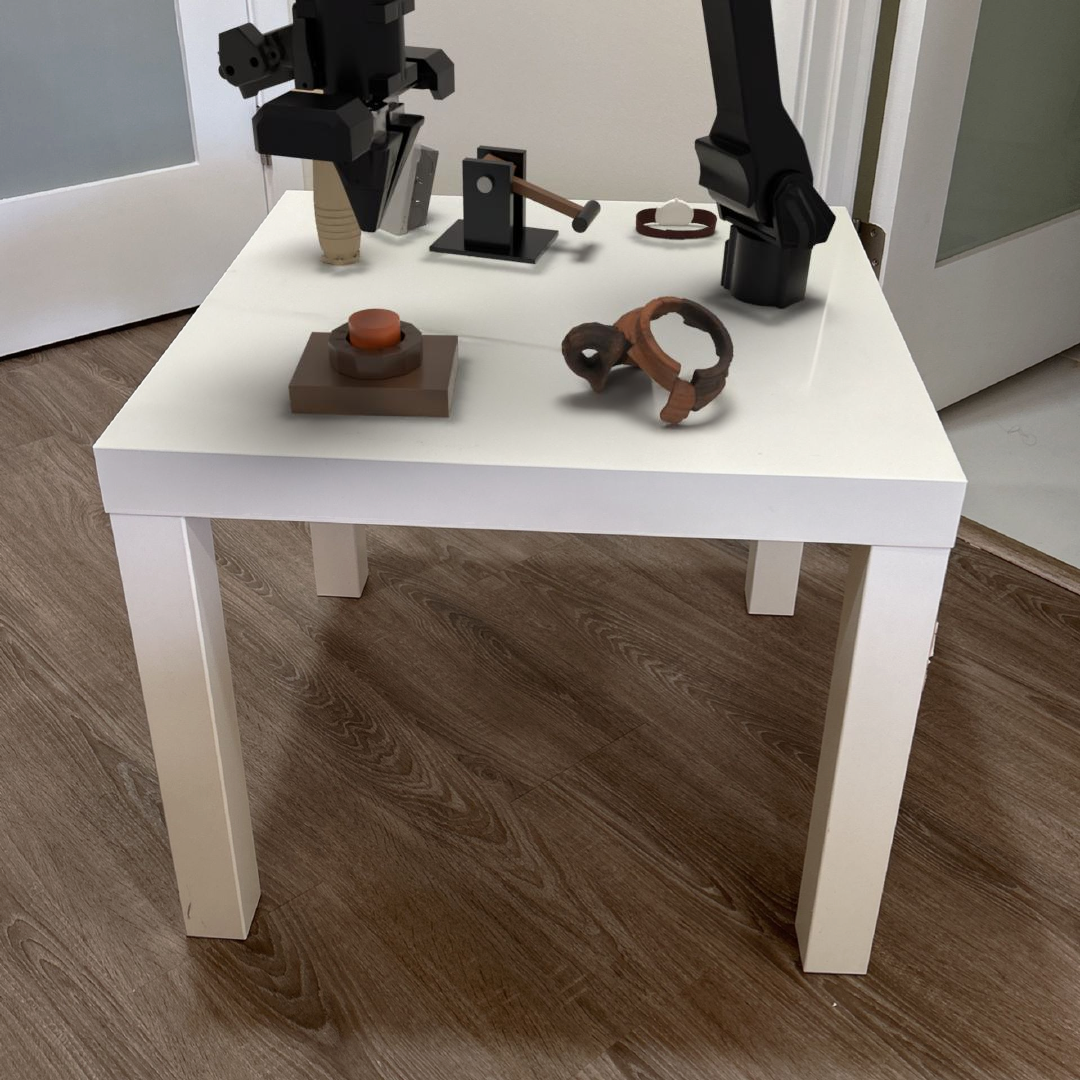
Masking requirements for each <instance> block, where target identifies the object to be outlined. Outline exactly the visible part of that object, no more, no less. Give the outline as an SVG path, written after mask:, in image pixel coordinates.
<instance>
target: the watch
mask: <svg viewBox="0 0 1080 1080" xmlns="http://www.w3.org/2000/svg"><path fill="white" fill-rule="evenodd" d="M717 222H718V217H717V215H716V214H715V213H714V212H712V211H710V210H709V209H708V210H707V209H703V208H696V207H691V206H690V204H688V202H686V201H685V200H682V199H679V197H675V198H673V199H670V200H667V201H665V202H664V203H662V204H661V205H660V206H659V207H658V206H656V207H649V208H643V209H641V210H639V211H638V212H637V213H636V214H635V232H637V233H638V234H640V235H642V236H646V237H650V238H656V239H657V238H658V239H667V240H691V239H692V240H693V239H702V238H707V237H710V236H712V235H714V234H715V231H716V227H717ZM646 224H647V225H646ZM648 224H658V225H660V226H684V227H685V226H688V225H690V224H691V225H693V224H697V225H702V226H706V227H704V228H700V229H699V228H698V229H692V230H691V229H688V230H687V229H686V230H685V229H684V230H682V229H681V230H680V229H677V230H676V229H667V228H665V229H661V228H656V227H653V226H648Z"/></svg>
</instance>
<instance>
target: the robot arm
mask: <svg viewBox="0 0 1080 1080" xmlns="http://www.w3.org/2000/svg"><path fill="white" fill-rule="evenodd" d="M700 3H701V9H702V15H703V23H704V28H705V36H706V43H707V49H708V50H707V51H708V55H709V56H708V57H709V63H710V64H709V65H710V69H711V76H712V77H711V78H712V84H713V91H714V92H713V93H714V99H715V105H716V115H715V118H714V121H713V122H712V126H711V128H710V130H709V133H708V134H707V135H705V136H704V135H703V136H702V137H698V138H696V139H695V140H694V150H695V153H696V156H697V159H698V163H699V178H698V186H700V187H703V188H705V189H707V192H708V195H709V196H710V198H711V199H712V200H713V201H715V204H716V209H717V214H718V218H719V219H720V220H721V221H724V222H728V223H730V226H729V227H730V228H729V235H728V238H727V239H726V240H725V241H724V248H723V256H722V266H721V276H720V286H721V287H723V289H724V290H727V291H729V293H730V295H731V296H732V297H733V298H734V299H735V300H737V301H739V302H742V303H744V304H748V305H751V306H757V307H766V308H767V307H770V308H776V309H780V310H784V309H787V308H789V307H791V306H794V305H796V304H798V303H800V302H803V301H804V300H805V298H806V291H807V285H808V278H809V272H810V266H811V260H812V252H813V249H814V247H815V246H816V245H819V244H825V243H827V242H828V239H829V237H830V235H831V233H832V230H833V228H834V225H835V223H836V220H837V216H836V215H835V213H834V212H833V210H832V208H830V206H829V205H828V204H827V202H826V201H825V200H824V199H823V197H822V196H821V194H819V192H818V191H817V190H816V188H815V187H814V177H815V176H814V171H813V169H812V164H811V161H810V158H809V153H808V149H807V146H806V142H805V140H804V137H803V136H802V134H801V133H800V130H798V128H797V126H796V124H795V123H794V121H793V120H792V118H791V116H790V114H789V113H788V111H787V110H786V108H785V106H784V102H783V98H782V90H781V81H780V72H779V71H780V70H779V63H778V52H777V43H776V34H775V33H776V32H775V25H774V24H775V23H774V17H773V16H774V15H773V7H772V0H700ZM414 11H416V1H415V0H295V2H293V3H292V5H291V15H292V23H289V24H286V25H284V26H281V27H278V28H275V29H272V30H270V31H267V32H264V33H262V32H261V31H260V30H259V29H258V28H257V27H256V26H255V25H254V23H252V22H249V21H248V22H246V23H243V24H241V25H238V26H236V27H233V28H229V29H227V30H224V31H222V32H219V33H218V51H217V55H218V61H219V62H218V63H219V66H218V69H217V70H218V71H217V72H218V75H219V77H220V78H221V79H223V80H224V81H225V80H226V81H227V83H228V84H230V85H231V86H233V87H235V88H238V89H239V92H240V94H241V96H242V99H243V100H248V99H251V98H254V97H256V96H258V95H259V92H261V91H264V90H268V89H270V88H273V87H276V86H279V85H282V84H285V83H288V82H291V81H294V88H295V89H297V90H308V91H313V90H315V89H318V90H323V94H321V93H311V92H301V91H290V90H288V91H286V92H284V93H282V94H280V95H278V96H276V97H274V98H272V99H271V100H268V101H267V102H264V103H263V104H262V105H261V107H260V108H259V109H258V110H257V111H256V113H255V114H254V115H253V116H252V117H251V125H252V126H251V128H252V136H253V144H254V151H255V152H256V153H258V154H259V155H266V156H274V157H275V156H276V157H284V158H291V159H292V158H294V159H302V160H310V161H311V160H318V161H327V162H333V164H334V166H335V168H336V170H337V172H338V175H339V177H340V179H341V182H342V184H343V187H344V189H345V192H346V194H347V197H348V199H349V202H350V205H351V207H352V210H353V212H354V215H355V217H356V220H357V222H358V225H359V228H360V229H361V232H364V233H372V234H374V233H376V232H377V231H379V230H380V229H379V228H380V226H381V224H382V221H383V219H384V216H385V213H386V211H387V208H388V206H389V203H390V200H391V198H392V195H393V193H394V190H395V187H396V185H397V182H398V180H399V178H400V175H401V172H402V170H403V167H404V165H405V163H406V160H407V158H408V155H409V153H410V151H411V148H412V146H413V144H414V141H415V139H417V137H418V134H419V132H420V129H421V127H422V126H424V124H425V121H426V118H425V116H424V115H422V114H414V113H407V112H405V111H406V110H405V102H400V96H401V95H403V94H405V93H406V92H408V91H409V90H410V89H413V90H420V91H421V90H422V91H423V90H424V91H425V90H429V92H430V95H431V96H432V98H433V100H436V101H443V100H445V99H447V98H449V96H451V95H452V94H454V93H455V92H456V87H455V86H456V79H455V78H456V77H455V63H454V62H453V60H452V59H451V58H450V57H449V56H448V55H447V53H446V52H445V51H444V50H443V48H435V47H426V46H425V47H424V46H423V47H422V46H413V45H406V33H405V15H408V14H410V13H412V12H414Z"/></svg>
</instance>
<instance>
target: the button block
mask: <svg viewBox="0 0 1080 1080" xmlns="http://www.w3.org/2000/svg"><path fill="white" fill-rule="evenodd" d="M400 330H401V342H400V343H398V344H397V345H395V346H393V347H388V348H383V349H362V348H359V347H355V346H352V345H351V344H350V334H349V322H348V321H346V322H345V323H342V324H341V325H339V326H337V327H336V328H333V329H332V330H331V331H330V332H329V331H328V332H326V331H311V333H310V335H309V338H308V340H307V341H306V345H305V348H304V349H303V352H302V354H301V356H300V358H299V360H298V362H297V365H296V367H295V370H294V372H293V375H292V377H291V379H290V381H289V384H288V395H289V403H290V412H291V413H290V414H293V415H294V414H295V415H296V414H297V415H298V414H299V415H301V414H302V415H332V416H333V415H338V416H372V417H373V416H375V417H376V416H378V417H412V418H413V417H416V418H418V417H420V418H449V417H450V413H451V408H452V402H453V396H454V391H455V384H456V380H457V373H458V367H459V359H460V358H459V336H458V335H457V334H456V335H455V334H454V335H453V334H451V335H450V334H423V333H422V331H420V329H419V328H417V327H416V326H415V325H414V324H413V323H411V322H407V321H404V320H401V319H400Z"/></svg>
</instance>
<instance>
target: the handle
mask: <svg viewBox="0 0 1080 1080" xmlns="http://www.w3.org/2000/svg"><path fill="white" fill-rule="evenodd" d="M289 91H301V92H311V93H321V94H323V90H318V89H315V90H313V91H308V90H297V89H295V87H294V88H292V89H289ZM312 191H313V192H312V193H313V195H312V196H313V199H312V200H313V211H314V212H313V214H314V219H315V220H314V222H315V226H316V228H315V229H316V232H317V237H318V243H319V246H320V249H321V250H322V251H323V254H321V258H322V262H323V263H324V264H331V265H334V266H336V267H337V266H339V267H340V266H342V267H343V266H345V265H350V264H356V263H358V262H359V260H360V259H359V258H360V257H361V250H360V248H361V242H362V241H361V240H362V230H361V229H360V228H359V225H358V222H357V220H356V217H355V215H354V212H353V210H352V207H351V205H350V202H349V199H348V197H347V194H346V192H345V189H344V187H343V184H342V182H341V179H340V177H339V175H338V172H337V170H336V168H335V166H334V164H333V162H327V161H318V160H312Z"/></svg>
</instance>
